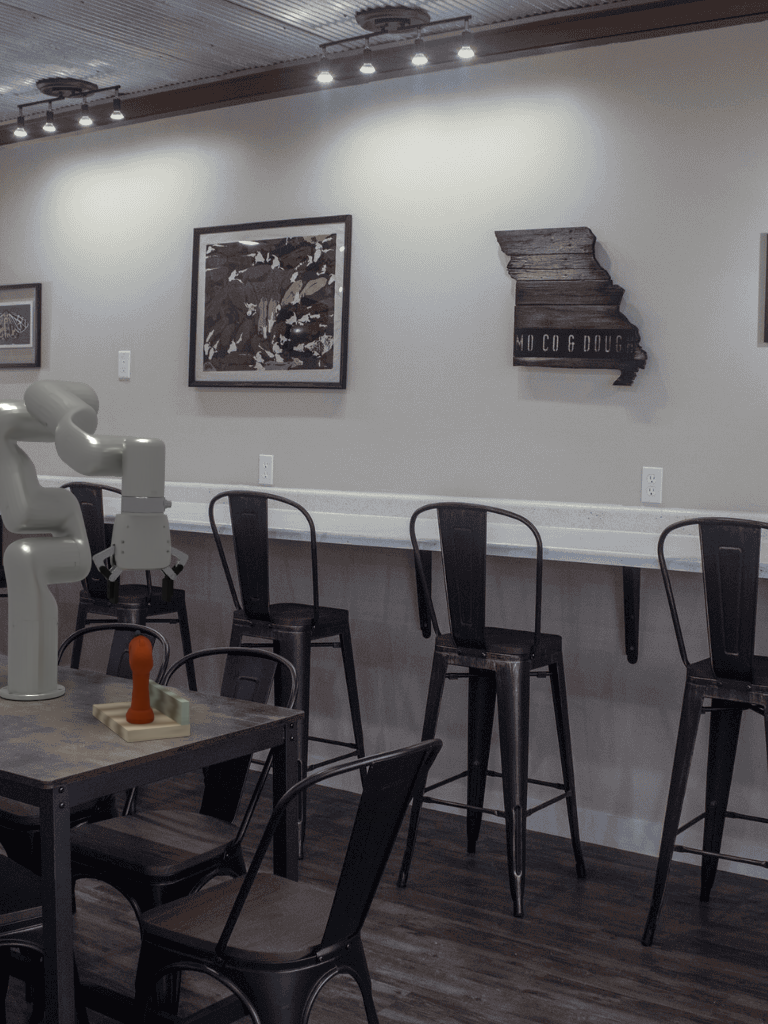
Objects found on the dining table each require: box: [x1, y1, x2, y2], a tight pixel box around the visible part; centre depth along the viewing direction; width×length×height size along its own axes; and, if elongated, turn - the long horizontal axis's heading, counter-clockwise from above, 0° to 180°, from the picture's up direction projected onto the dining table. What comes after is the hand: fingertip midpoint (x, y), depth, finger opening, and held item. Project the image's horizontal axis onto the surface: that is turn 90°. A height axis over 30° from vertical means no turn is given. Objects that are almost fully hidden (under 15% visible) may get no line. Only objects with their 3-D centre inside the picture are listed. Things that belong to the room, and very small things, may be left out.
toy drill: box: [126, 629, 154, 724], centre depth 198 cm, size 5×19×15 cm, turn 15°
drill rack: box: [92, 678, 191, 743], centre depth 197 cm, size 22×11×6 cm, turn 30°
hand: (140, 601), depth 197 cm, fingers open, 9 cm apart
